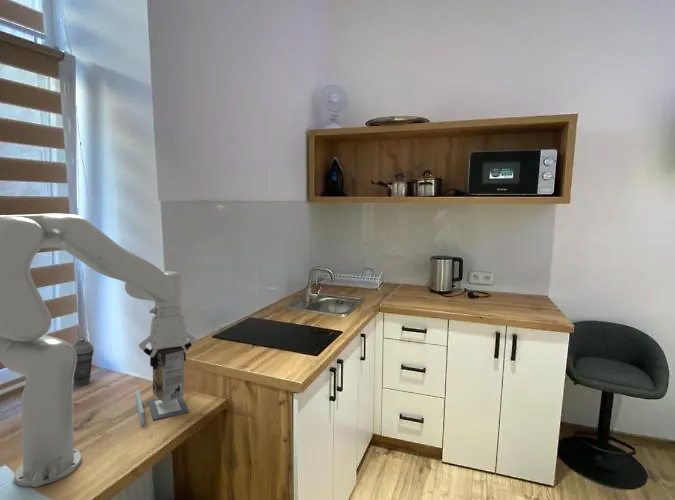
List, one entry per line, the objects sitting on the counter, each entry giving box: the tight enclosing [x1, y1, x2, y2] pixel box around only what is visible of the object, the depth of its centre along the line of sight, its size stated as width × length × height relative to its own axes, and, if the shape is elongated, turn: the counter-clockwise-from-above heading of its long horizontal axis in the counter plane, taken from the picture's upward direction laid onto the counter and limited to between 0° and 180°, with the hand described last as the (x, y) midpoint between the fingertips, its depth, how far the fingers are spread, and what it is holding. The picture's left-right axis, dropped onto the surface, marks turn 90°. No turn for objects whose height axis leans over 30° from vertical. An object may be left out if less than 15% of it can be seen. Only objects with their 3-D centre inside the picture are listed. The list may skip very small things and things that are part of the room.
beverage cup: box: [71, 328, 95, 387], centre depth 132 cm, size 7×7×20 cm
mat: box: [147, 397, 189, 421], centre depth 119 cm, size 13×10×1 cm
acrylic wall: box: [135, 389, 145, 427], centre depth 114 cm, size 16×1×4 cm, turn 33°
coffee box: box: [152, 347, 185, 403], centre depth 118 cm, size 9×6×16 cm
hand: (168, 365), depth 118 cm, fingers closed on coffee box, 7 cm apart
